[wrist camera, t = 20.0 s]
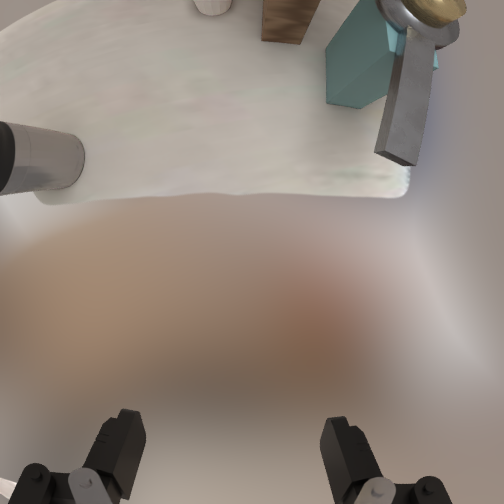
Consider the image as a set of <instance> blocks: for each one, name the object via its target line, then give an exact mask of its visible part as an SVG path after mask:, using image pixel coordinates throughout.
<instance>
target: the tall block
mask: <svg viewBox="0 0 504 504" xmlns="http://www.w3.org/2000/svg"><path fill="white" fill-rule="evenodd" d="M397 37H398V33H397V32H396V31H395V30H394V29H393V28H392V27H391V26H390V25H389V24H388V23H387V22H386V20H385V19H384V18H383V17H382V15H381V14H380V12H379V10H378V8H377V6H376V4H375V0H360V1H359V2H358V3H357V5H356V6H355V8H354V9H353V10H352V12H351V13H350V15H349V16H348V17H347V19H346V20H345V22H344V23H343V24H342V26H341V27H340V29H339V30H338V32H337V33H336V34H335V36H334V37H333V39H332V40H331V42H330V43H329V45H328V46H327V48H326V103H329V104H335V105H341V106H347V107H353V108H358V109H361V108H363V107H365V106H366V105H368V104H370V103H372V102H374V101H375V100H377V99H379V98H381V97H383V96H385V95H387V94H388V89H389V84H390V79H391V73H392V68H393V62H394V56H395V50H396V43H397ZM436 69H438V61H437V55H436V50H435V54H434V65H433V71H434V70H436Z"/></svg>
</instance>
